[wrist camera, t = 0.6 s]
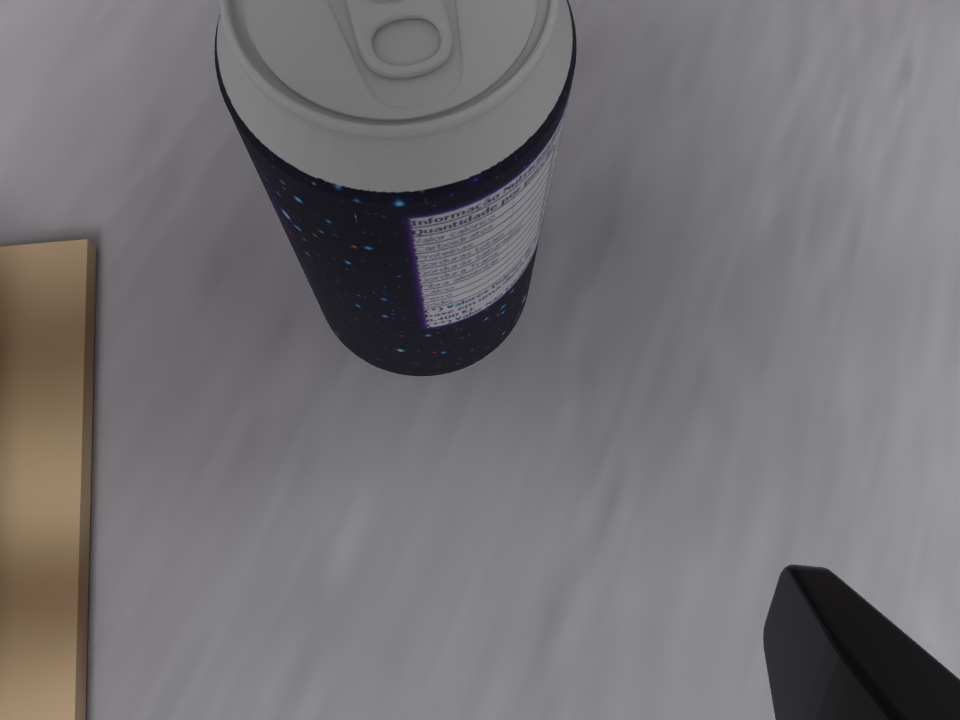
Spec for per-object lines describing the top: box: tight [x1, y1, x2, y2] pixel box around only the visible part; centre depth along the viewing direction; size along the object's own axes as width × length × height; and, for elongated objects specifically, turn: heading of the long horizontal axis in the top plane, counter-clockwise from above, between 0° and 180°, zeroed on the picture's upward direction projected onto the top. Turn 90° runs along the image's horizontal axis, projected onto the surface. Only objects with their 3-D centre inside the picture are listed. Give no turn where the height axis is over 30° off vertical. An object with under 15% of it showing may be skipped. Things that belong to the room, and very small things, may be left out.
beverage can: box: [215, 0, 576, 376], centre depth 18 cm, size 6×6×12 cm
